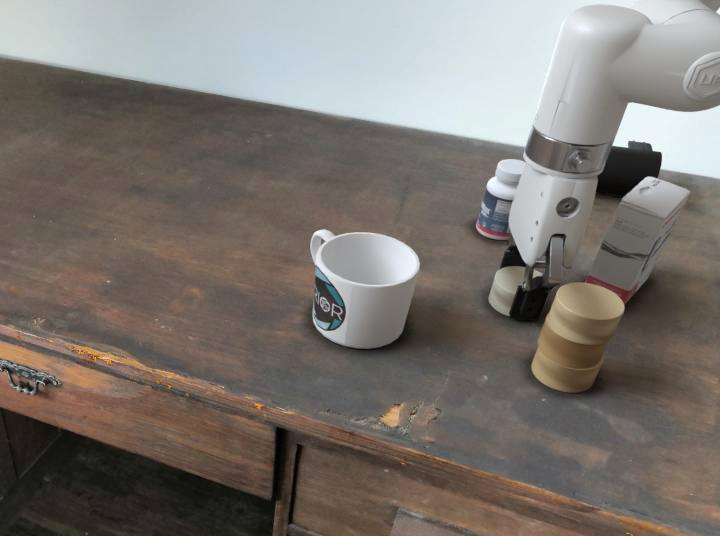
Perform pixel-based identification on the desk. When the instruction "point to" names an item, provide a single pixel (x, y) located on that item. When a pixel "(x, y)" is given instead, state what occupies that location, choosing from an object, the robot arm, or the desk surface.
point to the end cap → (628, 168)
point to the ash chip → (507, 287)
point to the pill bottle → (499, 200)
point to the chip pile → (566, 362)
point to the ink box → (637, 236)
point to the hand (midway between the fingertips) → (517, 298)
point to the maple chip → (585, 313)
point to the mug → (362, 287)
